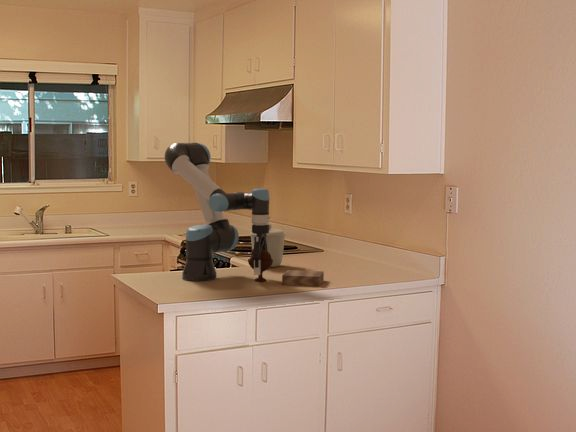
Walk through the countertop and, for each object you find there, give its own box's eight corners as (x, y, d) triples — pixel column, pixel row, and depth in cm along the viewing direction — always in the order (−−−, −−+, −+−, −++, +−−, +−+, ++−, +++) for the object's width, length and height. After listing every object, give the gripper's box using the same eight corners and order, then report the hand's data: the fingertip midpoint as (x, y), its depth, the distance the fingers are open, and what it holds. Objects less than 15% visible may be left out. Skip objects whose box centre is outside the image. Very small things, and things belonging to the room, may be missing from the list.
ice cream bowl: (251, 283, 332) (251, 249, 330) (245, 279, 342) (245, 245, 341) (275, 282, 334) (275, 248, 333) (269, 278, 345) (269, 245, 344)
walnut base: (282, 284, 330) (282, 275, 329) (287, 279, 343) (287, 270, 343) (319, 286, 327) (319, 276, 327) (323, 280, 341) (323, 271, 340)
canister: (264, 270, 367) (264, 226, 365) (242, 265, 381) (242, 223, 379) (293, 266, 378) (294, 223, 376) (270, 262, 392) (271, 220, 390)
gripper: (263, 227, 323) (263, 277, 325) (274, 221, 348) (274, 268, 350) (245, 226, 324) (245, 276, 326) (258, 221, 349) (258, 267, 351)
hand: (260, 272), depth 338 cm, fingers open, 13 cm apart
